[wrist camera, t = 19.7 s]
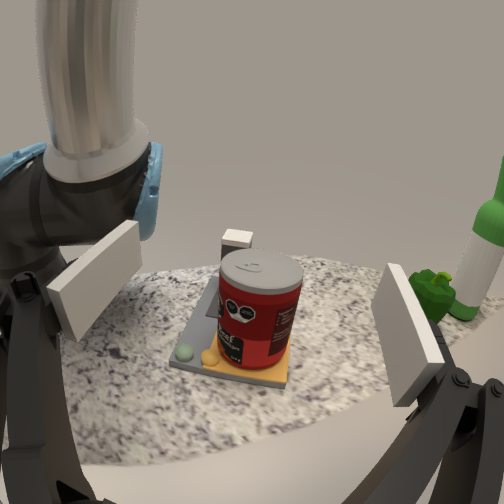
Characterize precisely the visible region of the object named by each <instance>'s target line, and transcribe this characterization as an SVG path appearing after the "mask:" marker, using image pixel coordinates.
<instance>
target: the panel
mask: <svg viewBox="0 0 504 504" xmlns="http://www.w3.org/2000/svg"><path fill="white" fill-rule="evenodd" d="M218 292H219V277H215V276H212V277H211V279H210V281H209V282H208V284H207V286H206V288H205V290H204V292H203V294H202V296H201V298H200V300H199V302H198V304H197V305H196V307H195V309H194V311H193V313H192V315H191V317H190V319H189V321H188V323H187V325H186V327H185V329H184V331H183V333H182V335H181V337H180V339H179V341H178V343H177V345H176V346H175V348H174V350H173V352H172V354H171V356H170V358H169V365H170V366H173V367H176V368H180V369H184V370H188V371H192V372H196V373H200V374H205V375H209V376H214V377H218V378H223V379H228V380H233V381H238V382H244V383H249V384H255V385H261V386H268V387H274V388H281V389H284V388H285V385H286V381H287V370H288V359H289V347H290V336H289V340H288V344H287V348H286V351H285V353H284V355H283V356H282V357H281V359H280V360H279V361H278V362H277V363H275V364H274V365H272V366H270V367H268V368H264V369H258V370H251V369H244V368H240V367H238V366H235V365H233V364H231V363H230V362H228V361H227V360H226V359H225V358H224V357H223V356H222V354H221V352H220V350H219V347H218V344H217V324H218ZM290 333H291V332H290Z"/></svg>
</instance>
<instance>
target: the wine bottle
mask: <svg viewBox="0 0 504 504" xmlns="http://www.w3.org/2000/svg"><path fill="white" fill-rule="evenodd" d="M503 255H504V156H503V159H502V164H501V169H500V174H499V178H498V182H497V187H496V191H495V194H494V197H493V199H492V200H489V201H487V202H486V203H484V204H483V205H482V206H481V207H480V209H479V211H478V213H477V215H476V219H475V222H474V225H473V228H472V231H471V234H470V237H469V240H468V243H467V245H466V248H465V251H464V253H463V256H462V259H461V261H460V264H459V266H458V269H457V271H456V274H455V276H454V278H453V281H452V283H451V285H450V287H452V288H454V290H455V291H456V297H455V300H454V302H453V304H452V306H451V308H450V310H449V312H450V313H451V314H452V315H453V316H455V317H457V318H459V319H462V320H470V319H472V318H473V317H474V316H475V315H476V313H477V311H478V309H479V307H480V305H481V304H482V302H483V300H484V298H485V296H486V294H487V292H488V290H489V287H490V285H491V283H492V281H493V278H494V276H495V274H496V272H497V269H498V267H499V265H500V262H501V259H502V257H503Z"/></svg>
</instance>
